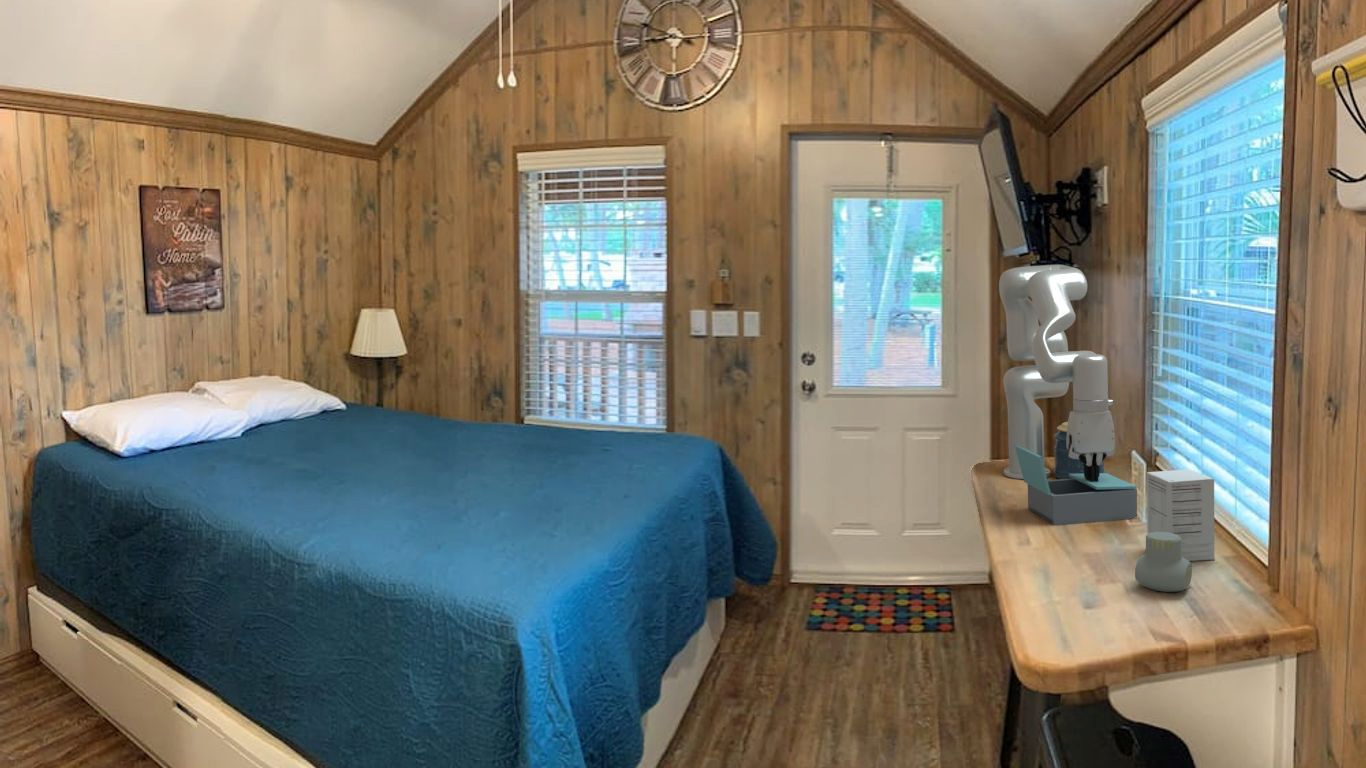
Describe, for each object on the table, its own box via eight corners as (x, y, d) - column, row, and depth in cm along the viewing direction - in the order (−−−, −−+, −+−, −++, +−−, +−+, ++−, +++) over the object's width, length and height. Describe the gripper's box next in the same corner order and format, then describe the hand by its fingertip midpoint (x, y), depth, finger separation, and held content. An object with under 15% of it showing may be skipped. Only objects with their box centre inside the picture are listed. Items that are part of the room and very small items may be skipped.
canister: (1057, 482, 242) (1056, 420, 239) (1052, 471, 254) (1050, 411, 252) (1108, 482, 238) (1108, 419, 236) (1100, 471, 250) (1100, 410, 248)
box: (1028, 509, 219) (1027, 482, 219) (1106, 502, 220) (1106, 475, 219) (1053, 525, 206) (1053, 496, 205) (1137, 518, 206) (1136, 489, 205)
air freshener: (1145, 574, 172) (1145, 525, 170) (1193, 581, 166) (1194, 530, 165) (1132, 592, 163) (1132, 541, 162) (1182, 600, 158) (1182, 547, 157)
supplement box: (1216, 560, 176) (1216, 479, 174) (1169, 563, 177) (1169, 482, 174) (1189, 545, 186) (1189, 468, 184) (1145, 548, 186) (1145, 471, 184)
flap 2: (1068, 476, 219) (1069, 473, 218) (1106, 475, 219) (1106, 473, 219) (1096, 489, 205) (1096, 487, 205) (1136, 488, 205) (1136, 486, 205)
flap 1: (1026, 480, 218) (1024, 481, 218) (1017, 444, 217) (1014, 445, 217) (1051, 494, 205) (1048, 495, 205) (1041, 456, 204) (1038, 457, 204)
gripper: (1112, 401, 213) (1113, 474, 215) (1052, 406, 213) (1054, 479, 215) (1129, 405, 206) (1130, 481, 208) (1067, 410, 205) (1068, 486, 207)
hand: (1091, 480), depth 211 cm, fingers closed
